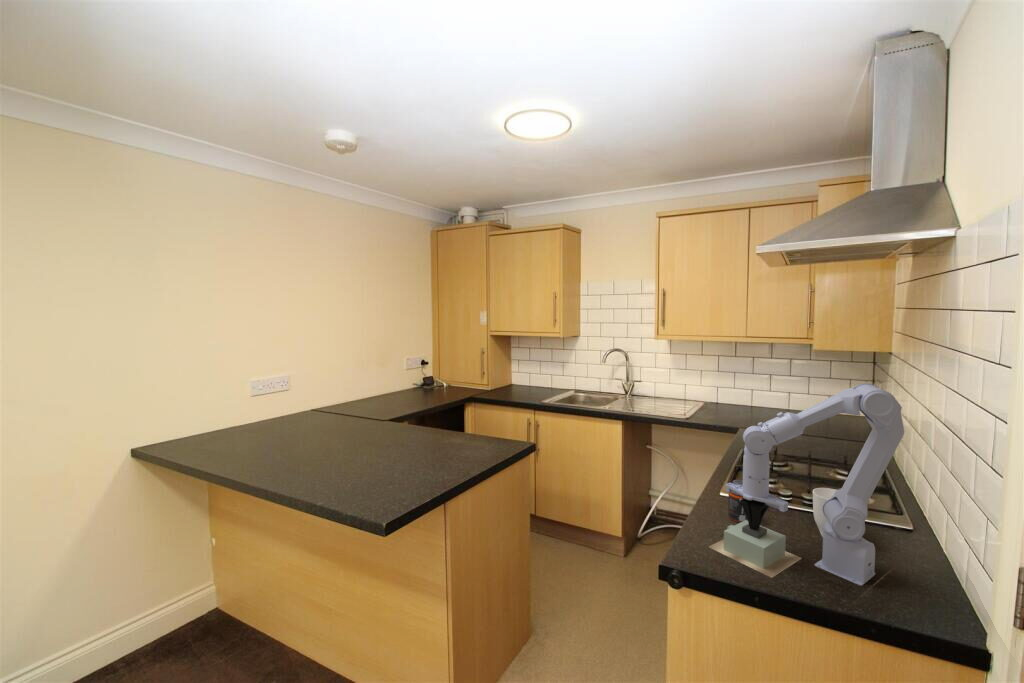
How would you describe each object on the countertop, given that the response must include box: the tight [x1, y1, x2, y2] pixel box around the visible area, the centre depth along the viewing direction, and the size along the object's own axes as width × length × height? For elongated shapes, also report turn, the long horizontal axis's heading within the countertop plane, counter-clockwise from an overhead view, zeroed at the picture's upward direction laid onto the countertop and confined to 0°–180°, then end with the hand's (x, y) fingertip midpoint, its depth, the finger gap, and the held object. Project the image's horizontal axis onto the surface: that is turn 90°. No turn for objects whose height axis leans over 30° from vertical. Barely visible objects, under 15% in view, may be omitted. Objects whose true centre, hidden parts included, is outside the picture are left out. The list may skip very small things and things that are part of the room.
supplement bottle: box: [727, 479, 748, 524], centre depth 130 cm, size 6×6×11 cm
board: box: [708, 538, 803, 579], centre depth 113 cm, size 16×14×1 cm
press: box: [723, 520, 787, 568], centre depth 113 cm, size 12×10×5 cm
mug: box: [812, 487, 838, 538], centre depth 120 cm, size 12×9×12 cm
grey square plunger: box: [742, 524, 768, 538], centre depth 113 cm, size 4×4×6 cm
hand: (754, 528), depth 112 cm, fingers closed, pressing on grey square plunger
